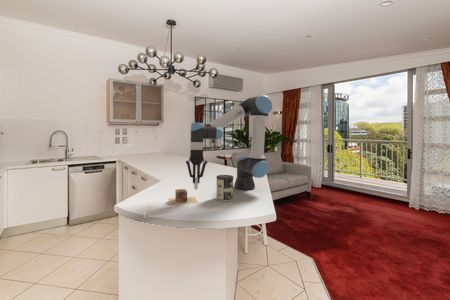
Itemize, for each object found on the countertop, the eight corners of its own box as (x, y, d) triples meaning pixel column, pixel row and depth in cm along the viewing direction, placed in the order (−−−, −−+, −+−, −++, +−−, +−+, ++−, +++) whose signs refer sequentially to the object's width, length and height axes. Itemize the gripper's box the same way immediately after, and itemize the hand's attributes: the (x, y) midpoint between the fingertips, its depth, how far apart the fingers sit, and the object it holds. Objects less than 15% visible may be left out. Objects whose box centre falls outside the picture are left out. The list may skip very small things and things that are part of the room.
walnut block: (185, 198, 141) (185, 189, 141) (187, 201, 136) (187, 191, 135) (175, 199, 139) (175, 189, 139) (176, 202, 134) (176, 192, 133)
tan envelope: (194, 197, 146) (194, 196, 146) (198, 203, 135) (198, 202, 135) (168, 199, 141) (168, 198, 141) (169, 205, 130) (169, 204, 130)
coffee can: (234, 197, 148) (234, 175, 147) (231, 202, 138) (231, 178, 137) (218, 196, 150) (218, 174, 149) (214, 200, 140) (214, 177, 139)
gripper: (206, 148, 143) (205, 186, 145) (184, 148, 139) (183, 187, 141) (209, 149, 136) (208, 189, 138) (186, 149, 132) (185, 190, 134)
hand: (195, 188), depth 140 cm, fingers closed
